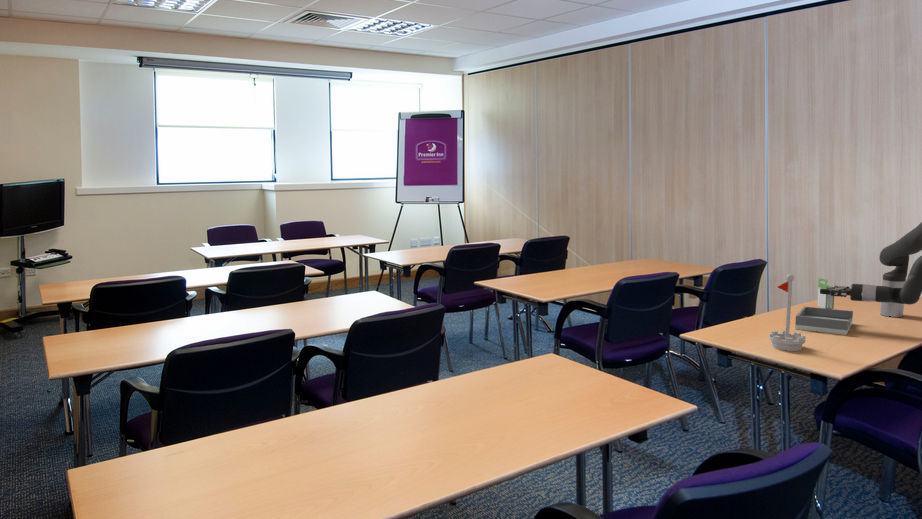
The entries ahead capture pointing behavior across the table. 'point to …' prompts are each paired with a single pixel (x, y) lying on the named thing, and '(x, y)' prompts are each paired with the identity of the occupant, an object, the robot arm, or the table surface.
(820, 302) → the ink box
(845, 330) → the tray
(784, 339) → the flag stand
